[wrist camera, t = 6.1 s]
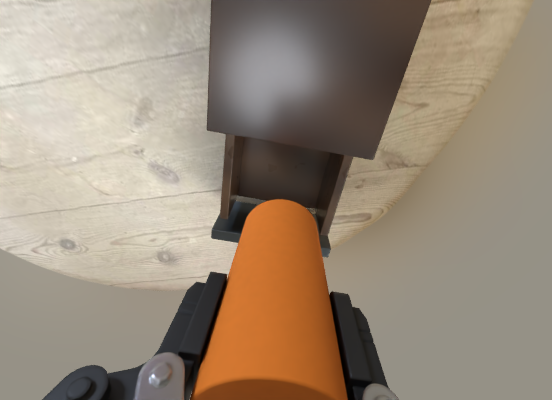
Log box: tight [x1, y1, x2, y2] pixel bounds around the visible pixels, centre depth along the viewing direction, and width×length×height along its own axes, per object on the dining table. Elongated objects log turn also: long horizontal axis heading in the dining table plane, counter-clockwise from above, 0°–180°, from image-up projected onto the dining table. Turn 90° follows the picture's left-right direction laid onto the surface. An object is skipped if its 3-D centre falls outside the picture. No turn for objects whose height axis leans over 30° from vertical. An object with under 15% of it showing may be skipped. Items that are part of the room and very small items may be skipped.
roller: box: [190, 199, 348, 400], centre depth 12 cm, size 5×5×10 cm
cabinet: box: [207, 0, 431, 160], centre depth 20 cm, size 16×14×9 cm
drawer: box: [211, 134, 353, 257], centre depth 25 cm, size 16×12×7 cm
